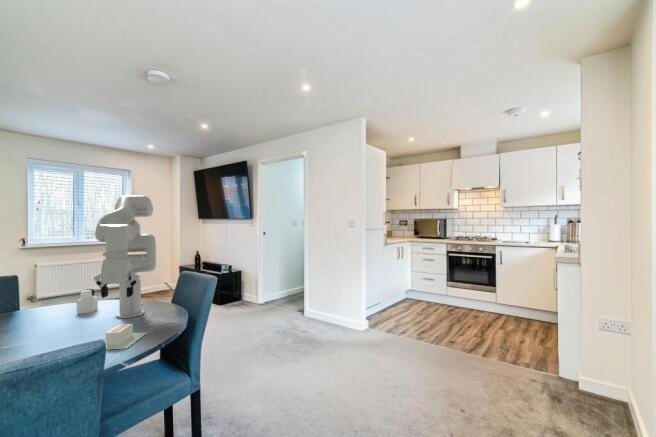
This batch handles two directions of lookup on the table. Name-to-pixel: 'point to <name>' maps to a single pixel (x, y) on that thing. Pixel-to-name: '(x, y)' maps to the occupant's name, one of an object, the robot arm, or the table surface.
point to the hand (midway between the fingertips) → (117, 296)
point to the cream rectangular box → (119, 334)
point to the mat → (126, 342)
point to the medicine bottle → (87, 302)
